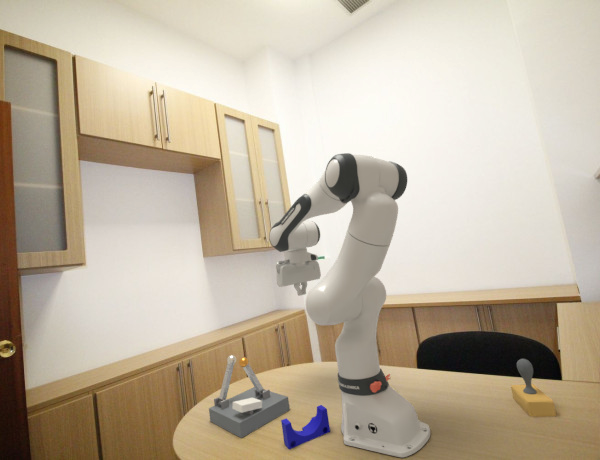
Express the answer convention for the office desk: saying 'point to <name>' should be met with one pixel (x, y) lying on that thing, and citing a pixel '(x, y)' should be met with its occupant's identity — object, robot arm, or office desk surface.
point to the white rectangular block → (247, 405)
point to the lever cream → (226, 379)
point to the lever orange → (251, 375)
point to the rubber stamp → (531, 393)
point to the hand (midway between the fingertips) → (302, 294)
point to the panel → (248, 412)
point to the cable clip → (306, 429)
